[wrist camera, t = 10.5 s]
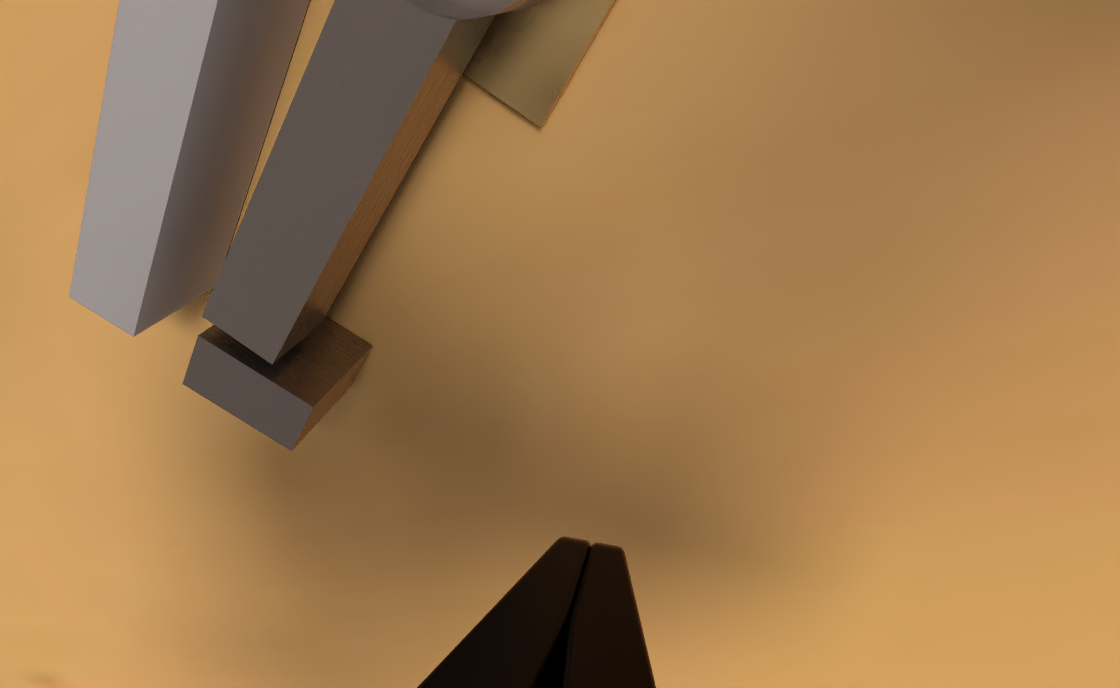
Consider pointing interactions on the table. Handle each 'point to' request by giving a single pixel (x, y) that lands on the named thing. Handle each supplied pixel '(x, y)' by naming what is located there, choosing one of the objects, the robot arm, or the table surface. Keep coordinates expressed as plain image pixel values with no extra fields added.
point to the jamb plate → (536, 53)
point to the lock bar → (341, 160)
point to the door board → (177, 149)
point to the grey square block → (277, 379)
